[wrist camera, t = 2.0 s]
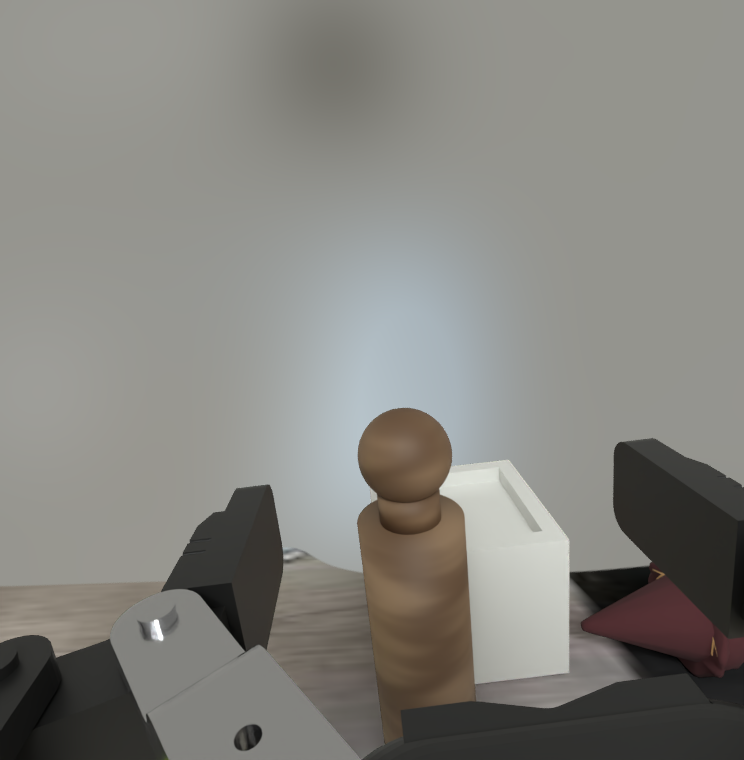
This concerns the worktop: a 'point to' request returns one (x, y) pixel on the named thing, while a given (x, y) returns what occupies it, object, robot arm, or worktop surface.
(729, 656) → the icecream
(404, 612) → the pepper mill
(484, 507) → the plinth
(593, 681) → the worktop surface
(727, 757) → the robot arm
